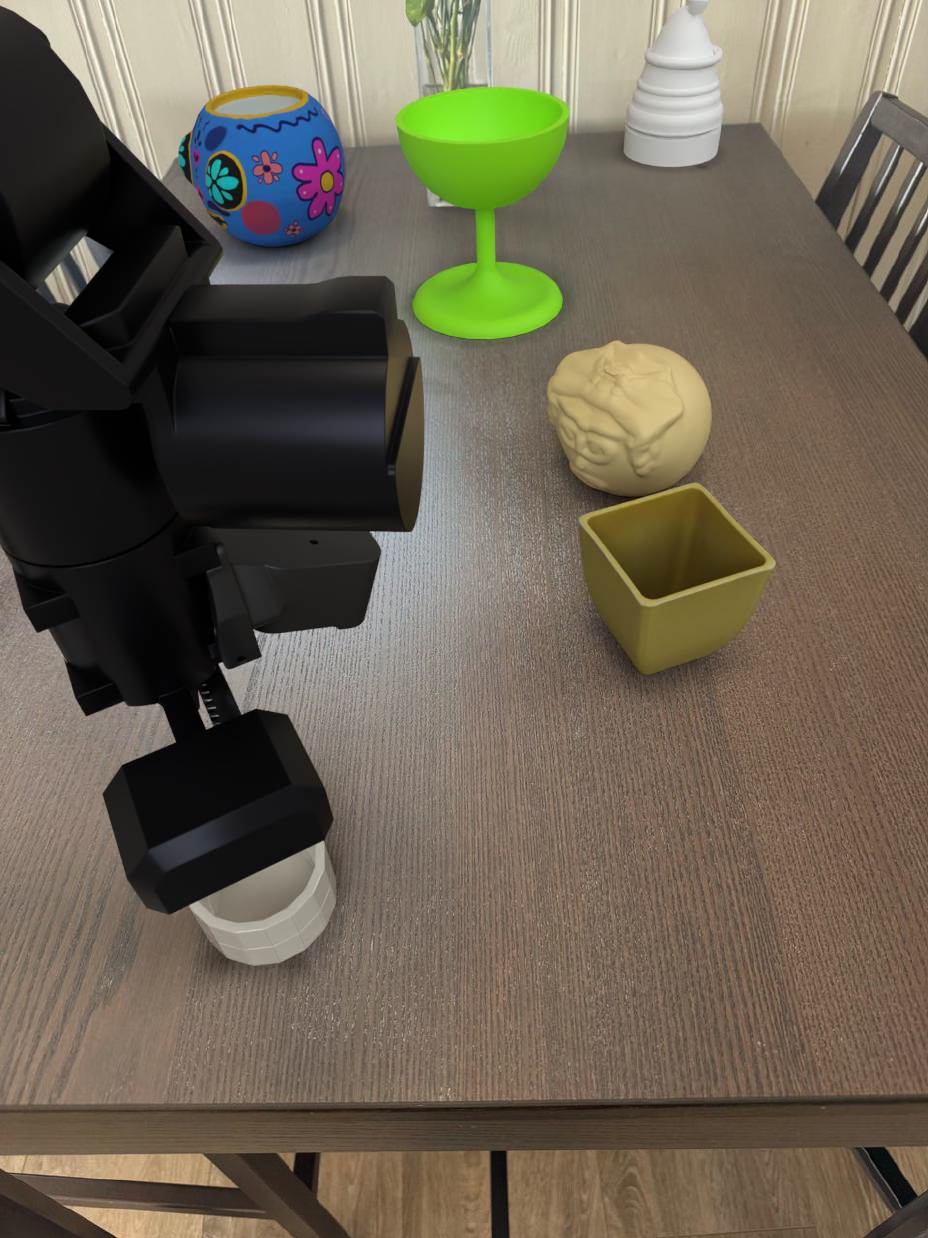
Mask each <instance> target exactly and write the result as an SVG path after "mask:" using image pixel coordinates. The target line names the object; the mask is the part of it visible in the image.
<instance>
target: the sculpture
mask: <svg viewBox="0 0 928 1238" xmlns="http://www.w3.org/2000/svg"><path fill="white" fill-rule="evenodd" d="M554 372H555V373H554V375H552V377H550V379H549V380H548V382H547V386H546V398H547V402H548V406H547V409H546V413H547V416H548V421H549V423H550V424H551V425H552V426H554V427H555V430H556V434H557V436H558V440H559V442H560V444H561V447H562V449H563V451H564V454H565V456H566V458H567V460H568V462H569V469H570V471H571V472H572V473H573V474H574V475H575V477H577V478H578V479H579V480H580V481H582V483H584V484H585V485H587V486H588V487H590V488H592V489H595V490H599V491H602V492H605V493H608V494H611V495H613V496H619V497H632V498H633V497H634V498H635V497H645V496H650V495H654V494H657V493H660V492H663V491H665V490H667V489H669V488H670V487H672V486H674V485H675V484H677V483H678V482H680V481H681V480H682V479H684V478H685V476H686V475H687V474H688V473H689V472H690V471H692V469H693V467H694V466H695V465H696V463H697V462H698V461H699V459H700V457H701V456H702V454H703V452H704V450H705V448H706V445H707V442H708V440H709V437H710V433H711V429H712V418H713V415H712V413H713V411H712V403H711V398H710V393H709V391H708V388H707V386H706V384H705V382H704V380H703V378H702V376H701V375H700V374H699V372H698V371H697V370H696V369H695V367H694V366H693V364H691V363H690V362H689V361H688V360H686V358H684V357H683V356H681V355H680V354H678V353H676V352H675V351H673V350H671V349H670V348H669V349H668V348H666V347H663V346H660V345H656V344H652V343H651V344H650V343H627V344H626V343H624V342H623V341H621V340H618V339H615V340H613V341H611V342H609V343H607V344H605V345H603V346H601V347H595V348H589V349H582V350H577V351H573V352H571V353H569V354H567V355H566V356H565V357H564V358H563V359H562V360H561V361H560V363H559V364H558V366H557V368H556V369H555V371H554Z"/></svg>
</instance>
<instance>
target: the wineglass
mask: <svg viewBox="0 0 928 1238" xmlns="http://www.w3.org/2000/svg"><path fill="white" fill-rule="evenodd" d="M570 114H571V108H570V107H569V105H568V103H567V102H566V101H564V100H563V99H561V98H559V97H558V96H556V95H554V94H553V95H552V94H550V93H546V92H543V91H540V90H535V89H534V90H533V89H529V88H523V87H510V86H479V87H466V88H458V89H452V90H447V91H442V92H441V91H440V92H437V93H433V94H429V95H426V96H423V97H420V98H418V99H416V100H414V101H411V102H409V103H407V104H405V106H403V107H402V108H401V109H399V110H398V112H397V113H396V114H395V117H394V121H395V126H396V130H397V134H398V135H397V136H398V138H399V140H398V141H399V145H400V148H401V152H402V153H403V155H404V157H405V159H406V161H407V163H408V165H409V167H410V170H411V171H412V172H413V173H414V175H415V177H416V178H418V179H419V180H420V182H421V183H422V184H423V185H424V186H425V187H426V189H427V190H429V191H430V193H432V194H433V195H435V196H437V197H439V198H440V199H442V201H443V200H444V201H445V202H447V203H448V204H451V205H453V206H455V207H459V208H462V209H468V210H469V209H470V210H474V213H475V214H474V215H475V240H476V241H475V242H476V245H475V246H476V262H470V263H465V264H461V265H457V266H453V267H450V268H447V269H445V270H441V271H439V272H438V273H436V274H434V275H432V276H431V277H430V278H428V279H426V280H425V281H424V282H423V283H422V284H421V285H420V287H419V288H418V289H417V290H416V292H415V295H414V298H413V300H412V304H411V305H412V306H411V307H412V311H413V315H414V316H415V317H416V319H417V320H418V321H419V322H420V323H421V324H422V325H424V326H426V327H427V328H429V329H430V330H432V331H435V332H437V333H440V334H443V335H445V336H449V337H454V338H460V339H466V340H495V339H504V338H506V339H507V338H512V337H515V336H519V335H523V334H527V333H530V332H533V331H535V330H537V329H539V328H541V327H544V326H545V325H547V324H549V323H550V322H551V321H552V320H553V319H554V318H556V317H557V316H558V314H559V313H560V311H561V310H562V308H563V299H564V297H563V294H562V292H561V290H560V287H559V286H558V284H557V282H555V281H554V280H553V279H552V278H551V277H550V276H548V275H547V273H544V272H542V271H540V270H538V269H536V268H533V267H530V266H527V265H524V264H521V263H515V262H506V261H496V220H495V219H496V218H495V215H496V213H495V209H498V208H499V209H500V208H503V207H507V206H510V205H513V204H515V203H517V202H519V201H521V200H522V199H523V198H525V197H527V196H528V195H529V194H530V193H532V192H533V191H534V190H536V189H537V188H538V187H540V185H541V184H542V183H543V182H544V181H545V179H546V178H547V176H548V175H549V174H550V172H551V171H552V170H553V168H555V166H556V165H557V162H558V160H559V158H560V155H561V153H562V150H563V148H564V146H565V143H566V139H567V134H568V127H569V122H570V121H569V120H570Z"/></svg>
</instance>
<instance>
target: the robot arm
mask: <svg viewBox="0 0 928 1238" xmlns="http://www.w3.org/2000/svg"><path fill="white" fill-rule="evenodd" d="M84 237H87V238H89V239H90V240H92V241H94V242H96V243H97V244H99V245H101V246H103V247H105V248H107V249H108V250H110V251H112V253H111V254H110V256H109V257H108V258H107V259H106V260H105V261H104V263H103V264H102V265H101V266H100V268H99V269H98V270H97V272H95V274H94V275H93V276H92V277H91V279H90V280H89V281H88V282H87V283H86V285H85V286H84V287H83V288H82V290H81V291H80V292H79V294H77V296H76V297H75V298H74V299H73V301H72V302H71V303H70V304H68V303H64V302H59V301H49V300H48V299H47V298H45V296H43V295H42V294H41V293H40V292H39V291H38V289H39V287H40V286H41V285H42V284H43V283H44V282H45V281H46V279H48V278H49V276H50V275H51V274H52V273H53V272H54V271H55V270H56V268H57V267H58V266H59V265H60V264H61V263H62V262H63V261H64V259H65V258H66V257H67V256H68V255H69V254H70V253H71V252H72V250H74V249H75V248H76V246H77V245H78V244H79V243H80V242H81V241H82V240H83V238H84ZM223 256H224V247H223V245H222V244H221V242H220V240H218V238H217V237H216V236H215V235H214V234H213V233H212V232H211V231H210V230H209V229H208V228H207V227H206V226H205V225H204V224H203V223H202V222H201V221H200V220H199V219H198V217H196V216H195V215H194V214H193V212H191V211H190V210H189V209H188V208H187V207H186V205H184V203H182V202H181V200H180V199H178V198H177V197H176V195H174V194H173V192H172V191H170V189H168V187H166V185H165V184H164V183H163V182H162V181H160V179H159V178H158V177H157V176H156V175H155V174H154V173H153V172H152V171H151V170H150V169H149V168H148V167H147V166H146V165H145V164H144V163H143V161H141V160H140V159H139V158H138V157H137V156H136V155H135V154H134V153H133V152H132V151H131V150H130V148H128V147H127V145H126V144H124V142H123V141H121V139H120V138H119V137H118V136H117V135H116V134H115V133H114V132H113V131H112V130H111V129H110V128H109V127H108V126H107V125H106V124H105V123H104V122H103V121H102V120H101V118H100V116H99V115H98V113H97V110H96V109H95V107H94V105H93V103H92V102H91V100H90V97H89V96H88V94H87V91H86V90H85V89H84V86H83V84H82V83H81V81H80V79H79V78H78V77H77V76H76V75H75V73H74V72H73V71H72V70H71V69H70V68H69V66H68V65H67V64H66V63H65V62H64V61H63V59H62V58H60V56H59V55H58V54H57V53H56V51H55V50H54V49H53V48H52V45H51V42H50V40H49V38H48V36H47V34H45V32H44V31H43V30H41V29H40V28H39V27H38V26H37V25H35V24H34V23H32V22H30V21H29V20H27V19H26V18H24V17H23V16H22V15H20V14H19V13H17V12H16V11H13V10H12V9H9V8H7V7H5V6H2V5H0V547H1V549H2V550H3V552H4V555H5V556H6V558H7V559H8V561H9V563H10V565H11V569H12V572H13V575H14V580H15V583H16V587H17V591H18V594H19V599H20V602H21V606H22V611H23V612H24V613H25V615H26V618H27V619H28V620H29V622H30V623H31V625H32V627H33V629H34V630H35V632H36V633H37V634H38V633H41V632H44V631H47V630H48V631H49V633H50V636H51V637H52V639H53V640H54V642H55V644H56V646H57V647H58V649H59V651H60V653H61V654H62V658H63V661H64V665H65V668H66V672H67V675H68V679H69V683H70V685H71V689H72V693H73V696H74V699H75V700H76V702H77V704H78V706H79V708H80V709H81V710H82V713H83V714H84V716H85V718H86V717H89V716H91V715H94V714H97V713H99V712H101V711H104V710H106V709H109V708H111V707H115V706H117V705H119V704H122V703H124V704H125V705H126V706H127V707H131V708H132V707H133V708H134V707H147V706H152V705H156V704H158V705H159V706H160V707H162V709H163V713H164V715H165V718H166V719H167V722H168V726H169V727H170V730H171V733H172V736H173V739H174V740H175V741H174V742H173V743H171V744H168V745H165V746H163V747H161V748H159V749H157V750H154V751H151V752H149V753H147V754H145V755H142V756H140V757H137V758H135V759H133V760H130V761H128V762H125V763H123V764H121V765H120V767H119V768H118V769H117V771H116V773H115V774H114V776H113V777H112V778H111V780H110V782H109V783H108V785H107V786H106V788H105V789H104V791H103V792H102V799H103V801H104V805H105V809H106V811H107V815H108V819H109V822H110V826H111V829H112V832H113V836H114V838H115V842H116V846H117V849H118V853H119V855H120V856H119V857H120V860H121V863H122V867H123V870H124V874H125V878H126V880H127V882H128V883H129V885H130V886H131V888H132V890H134V892H135V894H136V895H137V897H138V898H139V900H140V901H141V902H142V904H143V906H144V907H145V909H148V910H151V911H154V912H158V913H160V914H161V913H162V914H164V915H168V916H171V915H172V914H174V913H176V912H178V911H181V910H184V909H185V908H186V907H189V905H191V904H193V903H195V902H197V901H199V900H201V899H203V898H205V897H208V896H210V895H212V894H214V893H216V892H218V891H220V890H222V889H224V888H226V887H228V886H230V885H232V884H235V883H237V882H239V881H241V880H243V879H245V878H247V877H249V876H251V875H253V874H255V873H257V872H259V871H262V870H264V869H266V868H268V867H270V866H272V865H274V864H276V863H278V862H280V861H282V860H284V859H287V858H289V857H291V856H293V855H295V854H297V853H299V852H301V851H303V850H305V849H307V848H309V847H311V846H314V845H316V844H318V843H320V842H322V841H324V842H325V840H326V838H327V836H328V834H329V831H330V829H331V827H332V825H333V823H334V820H335V819H334V814H333V811H332V808H331V805H330V804H331V803H330V801H329V797H328V793H327V790H326V788H325V785H324V783H323V781H322V779H321V777H320V775H319V773H318V771H317V770H316V768H315V765H314V763H313V762H312V760H311V758H310V755H309V754H308V752H307V749H306V747H305V746H304V744H303V742H302V740H301V738H300V735H299V734H298V732H297V730H296V728H295V725H294V724H293V721H292V720H291V718H290V716H289V714H288V713H282V712H277V711H272V710H266V709H261V708H254V709H251V710H249V711H246V712H244V713H242V711H241V710H240V707H239V705H238V702H237V701H236V698H235V697H234V694H233V692H232V690H231V688H230V685H229V684H228V681H227V678H226V677H225V674H224V672H223V670H222V668H221V665H220V664H221V663H222V664H223V666H224V667H225V669H226V670H233V669H236V668H238V667H241V666H243V665H245V664H249V663H251V662H253V661H256V660H257V659H260V658H263V655H262V652H261V648H260V646H259V643H258V640H257V636H256V634H255V633H256V632H258V633H262V634H268V635H278V634H287V633H296V632H303V631H309V630H311V631H312V630H318V629H326V628H336V629H337V630H339V631H341V630H349V629H354V628H357V627H359V626H360V625H362V624H363V623H364V621H365V619H366V615H367V611H368V608H369V604H370V600H371V596H372V592H373V588H374V585H375V579H376V575H377V572H378V569H379V568H378V567H379V565H380V564H379V563H380V560H381V557H382V548H381V545H380V544H379V542H378V541H377V540H376V538H375V537H374V536H373V534H372V533H371V532H373V533H377V532H379V533H412V532H413V530H414V528H415V527H416V523H417V520H418V516H419V512H420V508H421V507H420V505H421V499H422V489H423V479H424V466H425V465H424V463H425V460H424V459H425V395H424V393H425V392H424V380H423V379H424V378H423V377H424V376H423V368H422V367H423V366H422V359H421V356H415V355H414V350H413V345H412V340H411V336H410V332H409V328H408V326H407V324H406V322H405V320H404V319H400V318H399V316H398V315H399V314H398V307H397V297H396V287H395V283H394V282H393V281H392V280H391V279H390V278H389V277H388V276H386V275H345V276H337V277H333V278H329V279H325V280H321V281H318V282H311V283H244V284H243V283H238V284H237V283H235V284H234V283H231V284H229V283H225V284H224V283H223V284H222V283H220V284H217V283H216V284H215V283H213V284H212V283H211V280H210V277H211V276H212V274H213V272H214V271H215V269H216V268H217V266H218V265H219V262H220V261H221V259H222V258H223ZM255 631H256V632H255ZM200 698H201V701H202V703H203V705H204V708H205V710H206V713H207V715H208V717H209V720H210V722H211V724H212V726H211V727H209V728H206V725H205V723H204V720H203V718H202V716H201V713H200V711H199V710H200V709H201V702H200Z"/></svg>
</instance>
